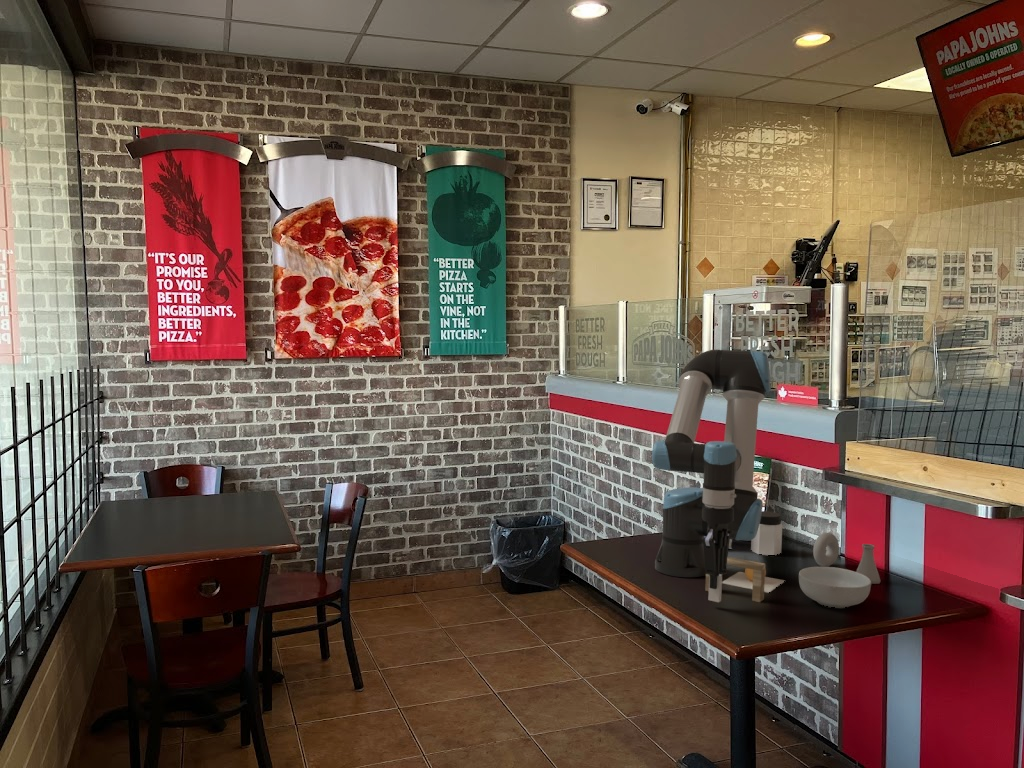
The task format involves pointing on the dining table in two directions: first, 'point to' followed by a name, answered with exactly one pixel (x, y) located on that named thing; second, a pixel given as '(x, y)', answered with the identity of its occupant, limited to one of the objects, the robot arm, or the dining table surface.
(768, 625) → the dining table surface
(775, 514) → the jar
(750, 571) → the ball
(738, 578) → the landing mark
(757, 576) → the bridge
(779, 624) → the dining table surface
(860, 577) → the cereal bowl
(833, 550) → the donut
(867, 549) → the flask
